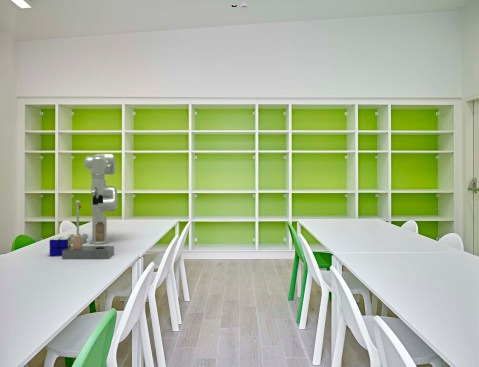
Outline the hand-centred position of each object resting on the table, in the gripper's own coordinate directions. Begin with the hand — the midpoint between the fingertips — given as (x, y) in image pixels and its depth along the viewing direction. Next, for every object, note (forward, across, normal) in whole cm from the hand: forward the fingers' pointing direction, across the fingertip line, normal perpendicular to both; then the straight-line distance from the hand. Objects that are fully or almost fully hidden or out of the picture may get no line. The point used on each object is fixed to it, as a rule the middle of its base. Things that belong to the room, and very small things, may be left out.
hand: (97, 203), depth 222 cm
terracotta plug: (+29, +13, -8) cm, 33 cm away
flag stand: (+31, -28, -23) cm, 47 cm away
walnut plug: (+21, +13, +6) cm, 25 cm away
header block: (+30, +13, -1) cm, 33 cm away
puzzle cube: (+31, +7, -20) cm, 37 cm away
